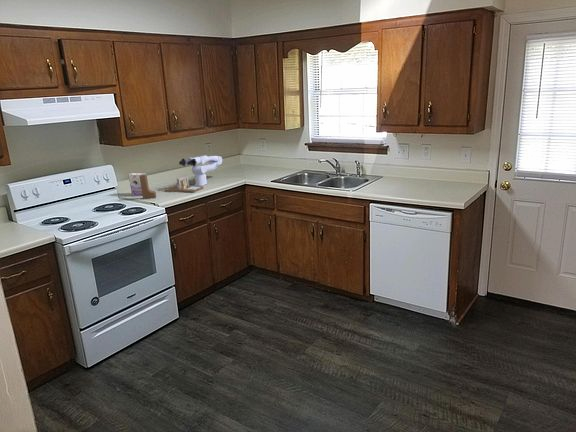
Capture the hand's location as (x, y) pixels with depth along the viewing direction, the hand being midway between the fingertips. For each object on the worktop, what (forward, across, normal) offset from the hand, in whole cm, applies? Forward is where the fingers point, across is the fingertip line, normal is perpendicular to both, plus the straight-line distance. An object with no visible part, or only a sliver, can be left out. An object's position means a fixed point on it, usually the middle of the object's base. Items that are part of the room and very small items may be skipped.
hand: (183, 163), depth 349 cm
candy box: (+15, -32, +23) cm, 42 cm away
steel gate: (-3, -4, +20) cm, 20 cm away
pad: (-3, +5, +20) cm, 21 cm away
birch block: (-3, -4, +22) cm, 22 cm away
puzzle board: (-3, -4, +22) cm, 22 cm away
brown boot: (+24, -16, +24) cm, 38 cm away
